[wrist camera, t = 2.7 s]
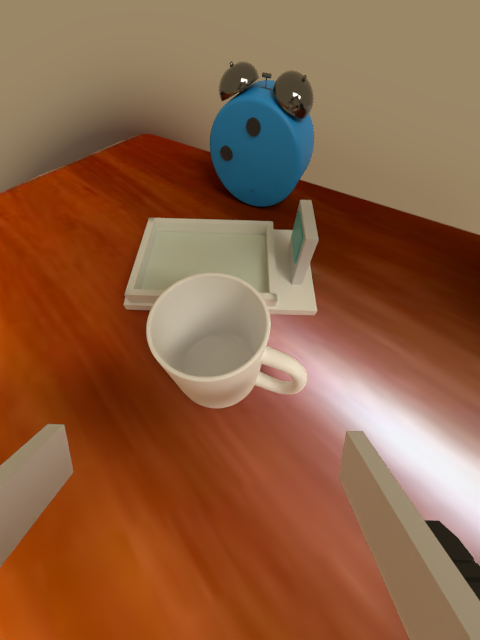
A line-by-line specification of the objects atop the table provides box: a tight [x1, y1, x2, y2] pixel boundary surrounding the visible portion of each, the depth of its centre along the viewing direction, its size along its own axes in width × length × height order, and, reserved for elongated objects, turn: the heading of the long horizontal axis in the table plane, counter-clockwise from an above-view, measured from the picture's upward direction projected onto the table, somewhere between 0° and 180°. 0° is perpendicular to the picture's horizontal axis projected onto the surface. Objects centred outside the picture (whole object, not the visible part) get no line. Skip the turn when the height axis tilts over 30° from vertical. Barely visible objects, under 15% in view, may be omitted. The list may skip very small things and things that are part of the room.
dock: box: [123, 200, 319, 315], centre depth 28 cm, size 22×13×8 cm, turn 88°
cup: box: [146, 273, 307, 408], centre depth 20 cm, size 8×12×10 cm
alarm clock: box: [210, 62, 314, 207], centre depth 33 cm, size 13×6×15 cm, turn 64°
